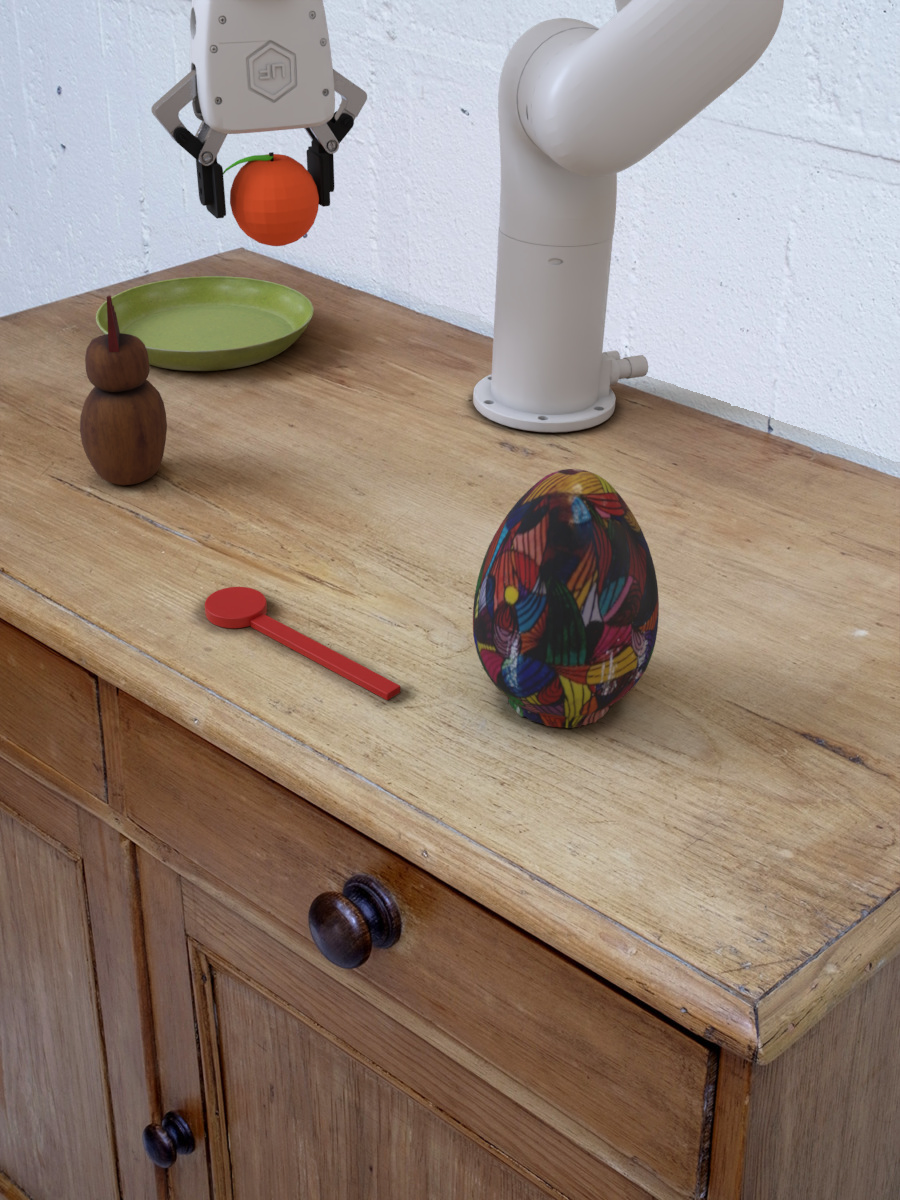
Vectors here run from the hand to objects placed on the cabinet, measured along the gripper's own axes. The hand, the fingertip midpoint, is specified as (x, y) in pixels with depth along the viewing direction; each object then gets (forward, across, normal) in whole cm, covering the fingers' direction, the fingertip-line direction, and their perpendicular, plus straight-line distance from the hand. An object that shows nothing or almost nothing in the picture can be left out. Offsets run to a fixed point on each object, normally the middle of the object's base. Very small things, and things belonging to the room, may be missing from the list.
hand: (268, 206), depth 103 cm
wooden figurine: (+18, -14, -6) cm, 24 cm away
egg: (+19, +2, -45) cm, 49 cm away
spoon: (+18, -10, -34) cm, 40 cm away
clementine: (+3, 0, 0) cm, 3 cm away
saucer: (+18, 0, +20) cm, 27 cm away
